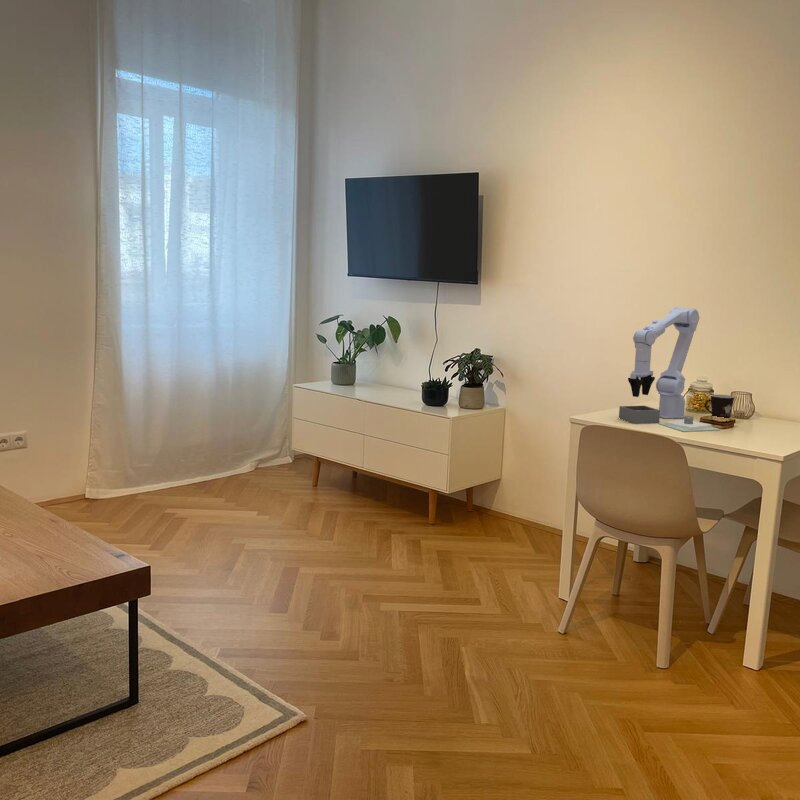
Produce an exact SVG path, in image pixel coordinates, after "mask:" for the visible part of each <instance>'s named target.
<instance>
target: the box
mask: <svg viewBox="0 0 800 800" xmlns="http://www.w3.org/2000/svg"><path fill="white" fill-rule="evenodd" d="M635 410H640V411H635ZM618 412H619V413H618V419H619V418H620V419H619V420H621V419H623V420H622V421H624V420H625V422H627V421H628V422H627V423H630V424H633V425H643V424H658V423H660V418H661V417H660V410H659V408H654V407H651V406H647V405H625V406H624V405H622V406H621V405H620V406H619V409H618Z"/></svg>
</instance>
